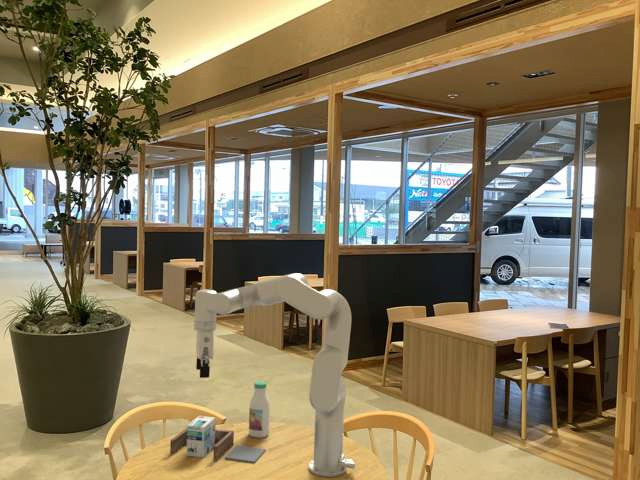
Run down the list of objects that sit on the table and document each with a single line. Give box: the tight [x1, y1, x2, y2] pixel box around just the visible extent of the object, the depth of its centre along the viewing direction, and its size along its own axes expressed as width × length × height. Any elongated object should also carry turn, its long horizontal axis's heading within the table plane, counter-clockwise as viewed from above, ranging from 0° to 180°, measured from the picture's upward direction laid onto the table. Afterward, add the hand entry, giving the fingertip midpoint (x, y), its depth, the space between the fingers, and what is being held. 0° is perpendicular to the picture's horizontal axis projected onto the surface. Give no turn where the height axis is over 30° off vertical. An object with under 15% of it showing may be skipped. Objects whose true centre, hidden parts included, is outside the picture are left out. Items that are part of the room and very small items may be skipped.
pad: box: [224, 444, 266, 464], centre depth 205 cm, size 11×11×1 cm
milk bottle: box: [248, 380, 271, 439], centre depth 223 cm, size 8×8×20 cm
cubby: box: [169, 427, 235, 462], centre depth 208 cm, size 17×15×5 cm
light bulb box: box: [186, 415, 217, 459], centre depth 207 cm, size 11×7×11 cm, turn 168°
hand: (202, 373), depth 206 cm, fingers open, 9 cm apart
